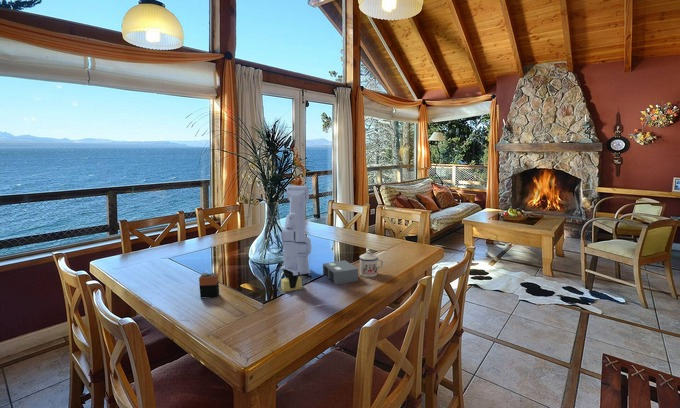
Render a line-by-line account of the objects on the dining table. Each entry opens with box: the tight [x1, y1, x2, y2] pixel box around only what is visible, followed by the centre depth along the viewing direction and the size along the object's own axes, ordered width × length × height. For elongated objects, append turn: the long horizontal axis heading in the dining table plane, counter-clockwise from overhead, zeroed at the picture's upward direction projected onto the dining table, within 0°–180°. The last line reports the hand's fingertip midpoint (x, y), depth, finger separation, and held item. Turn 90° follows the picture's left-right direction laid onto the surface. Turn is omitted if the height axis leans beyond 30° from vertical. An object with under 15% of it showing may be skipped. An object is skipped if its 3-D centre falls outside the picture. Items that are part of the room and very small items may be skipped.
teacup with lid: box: [358, 250, 384, 278], centre depth 168 cm, size 12×9×12 cm
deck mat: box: [276, 285, 307, 295], centre depth 151 cm, size 8×11×1 cm
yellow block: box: [280, 276, 303, 292], centre depth 151 cm, size 4×8×4 cm, turn 115°
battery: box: [198, 272, 220, 298], centre depth 144 cm, size 4×7×10 cm, turn 96°
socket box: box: [322, 259, 359, 285], centre depth 164 cm, size 14×12×6 cm
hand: (291, 286), depth 151 cm, fingers closed on yellow block, 4 cm apart
